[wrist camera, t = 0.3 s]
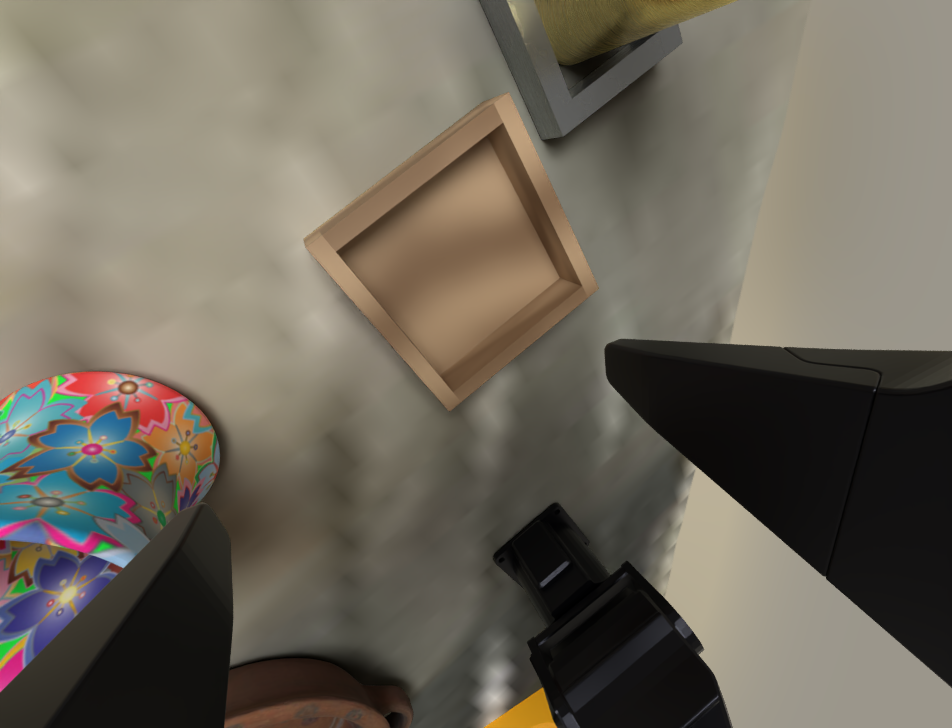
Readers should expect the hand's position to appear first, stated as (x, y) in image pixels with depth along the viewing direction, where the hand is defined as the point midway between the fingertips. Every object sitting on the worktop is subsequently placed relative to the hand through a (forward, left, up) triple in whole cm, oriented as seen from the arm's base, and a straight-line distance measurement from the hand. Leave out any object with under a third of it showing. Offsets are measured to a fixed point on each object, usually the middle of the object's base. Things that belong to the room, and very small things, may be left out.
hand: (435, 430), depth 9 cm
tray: (-2, -5, -14) cm, 15 cm away
